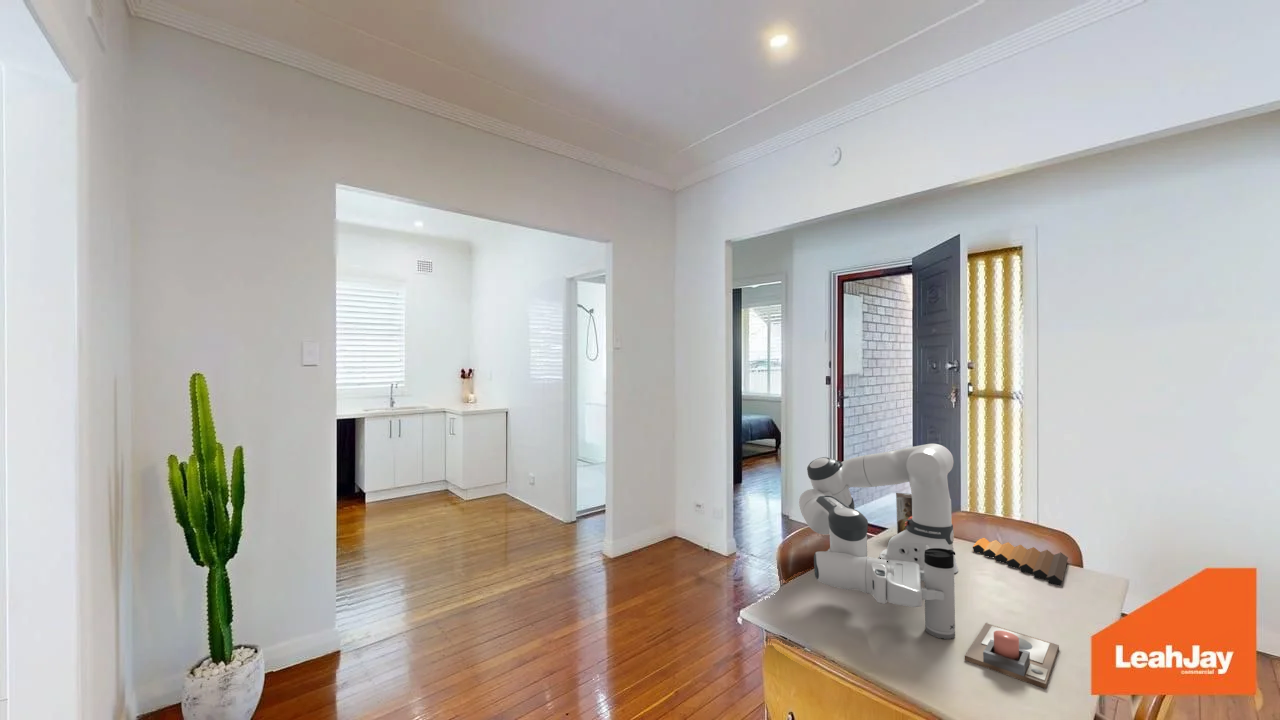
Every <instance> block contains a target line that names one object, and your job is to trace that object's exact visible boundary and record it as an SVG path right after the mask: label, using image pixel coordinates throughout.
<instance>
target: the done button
mask: <svg viewBox="0 0 1280 720" xmlns="http://www.w3.org/2000/svg"><path fill="white" fill-rule="evenodd" d="M994 653H995V654H998V655H1001V656H1004V657H1007V658H1010V659H1013V660H1019V638H1018V637H1017V636H1016V635H1014V634H1012V633H1009V632H1006V631H994Z"/></svg>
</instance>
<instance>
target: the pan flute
mask: <svg viewBox="0 0 1280 720" xmlns="http://www.w3.org/2000/svg"><path fill="white" fill-rule="evenodd" d="M972 550H973V552H974V553H977V552H980V553H979V554H982V553H983V555H984V557H985V556H989V557H988V558H990V557H994V558H993V559H995V561H996V562H997V561H1001V562H1000V563H1002V562H1004V563H1003V564H1007V566H1008V567H1009V566H1010V567H1009V568H1013V567H1015V568H1014V569H1020V571H1021V572H1022V573H1025V574H1030V575H1032V574H1033V576H1034V578H1035V579H1039V580H1044V581H1045V580H1047V582H1048V584H1050V585H1054V586H1059V587H1060V586H1061V585H1062V583H1063V579H1064V575H1065V572H1066V567H1067V563H1068V559H1069V557H1068V556H1067V555H1065V554H1064V553H1063V552H1058V553H1055V554H1054V553H1052V552H1051V551H1050V550H1048V549H1045V550H1042V551H1039V550H1038V549H1037V548H1036V547H1034V546H1032V547H1030V548H1029V549H1028V548H1026V547H1024V546H1023V544H1019V545H1016V546H1014V545H1013V544H1012V543H1010V542H1009V541H1008V542H1005V543H1003V544H1002V543H1000V542H999V541H998V540H997V539H994V540H992V541H989V540H988V539H987V538H985V537H982V538H980V539H977V541H976V542H975V543H974V545H972Z"/></svg>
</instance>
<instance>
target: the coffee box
mask: <svg viewBox="0 0 1280 720" xmlns="http://www.w3.org/2000/svg"><path fill="white" fill-rule="evenodd" d="M895 493H896V494H895V497H896V499H895V500H896V501H895V504H896V505H895V507H896V535H897V534H898V533H900V532H902V531H904V530H906V529H907V528H906V526H905V522H906V521H907V520H908V518H909V517H911V516H912V494H911V493H903V492H895Z"/></svg>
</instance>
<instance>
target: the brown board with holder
mask: <svg viewBox="0 0 1280 720" xmlns="http://www.w3.org/2000/svg"><path fill="white" fill-rule="evenodd" d="M994 631H1006V632H1009V633H1012V634H1014V635H1016V636H1017V637H1018V638H1019V660H1013V659H1010V658H1007V657H1004V656H1001V655H998V654H995V653H994ZM1059 650H1060V645H1059V644H1057V643H1053V642H1051V641H1046V640H1044V639H1040V638H1037V637H1034V636H1030V635H1027V634H1024V633H1021V632H1018V631H1013V630H1010V629H1007V628H1003V627H1001V626H997V625H994V624H992V623H987V622H985V623H984V625H983V626H982V628H981V629H980V631H979V633H978V634H977V635H976V637H975V639H974V640H973V642H972V643H971V644H970V646H969V648H968V649H967V651H966V652H965V654H964V661H965V662H970V663H972V664H975V665H978V666H980V667H984V668H986V669H988V668H989V669H988V670H991V671H994V672H996V673H997V672H998V673H1000V674H1003V675H1006V676H1008V677H1010V678H1014V679H1017V680H1020V681H1022V682H1024V683H1028V684H1030V685H1032V686H1033V685H1034V686H1037V687H1039V686H1040V687H1039V688H1042V689H1044V688H1045V690H1046V689H1047V687H1048V683H1049V681H1050V678H1051V676H1052V672H1053V669H1054V665H1055V662H1056V659H1057V657H1058V653H1059Z"/></svg>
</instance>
